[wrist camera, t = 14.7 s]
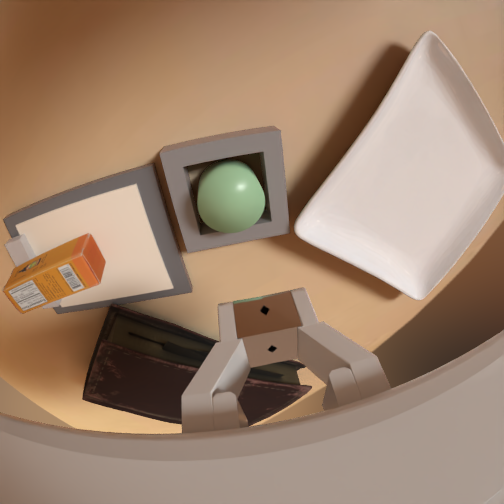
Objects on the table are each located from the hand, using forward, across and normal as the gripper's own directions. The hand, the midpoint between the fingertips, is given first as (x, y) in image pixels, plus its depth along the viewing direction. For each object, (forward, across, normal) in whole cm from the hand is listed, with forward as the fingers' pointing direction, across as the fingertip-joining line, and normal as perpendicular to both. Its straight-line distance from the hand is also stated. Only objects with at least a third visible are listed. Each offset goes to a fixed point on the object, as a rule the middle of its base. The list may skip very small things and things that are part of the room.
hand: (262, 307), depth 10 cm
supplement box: (+10, +12, +3) cm, 16 cm away
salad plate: (+14, -18, +3) cm, 23 cm away
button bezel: (+13, 0, +1) cm, 13 cm away
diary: (+12, +10, +24) cm, 29 cm away
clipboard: (+13, +14, +4) cm, 19 cm away
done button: (+13, 0, +1) cm, 13 cm away
